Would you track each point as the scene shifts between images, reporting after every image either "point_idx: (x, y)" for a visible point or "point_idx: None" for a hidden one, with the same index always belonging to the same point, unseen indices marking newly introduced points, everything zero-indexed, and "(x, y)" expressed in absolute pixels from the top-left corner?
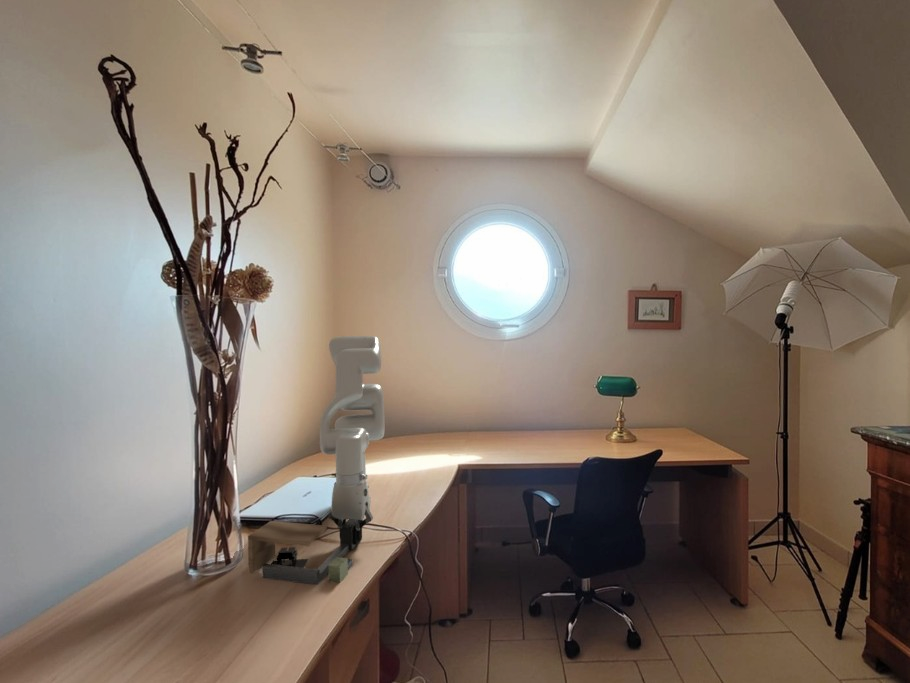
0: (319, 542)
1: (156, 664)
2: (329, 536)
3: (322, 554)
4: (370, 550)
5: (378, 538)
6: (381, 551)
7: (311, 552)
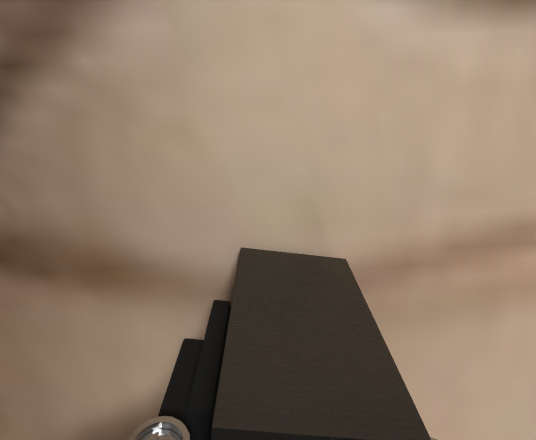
0: (4, 294)
1: None
2: (13, 190)
3: (137, 423)
4: (439, 368)
5: (489, 199)
6: (516, 374)
7: (50, 409)
